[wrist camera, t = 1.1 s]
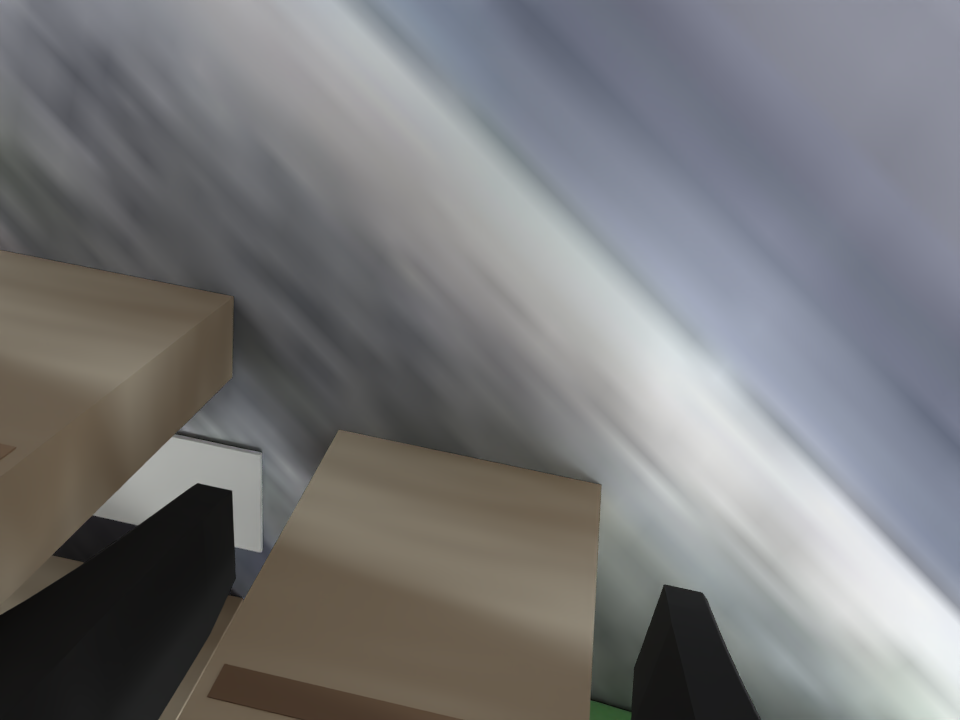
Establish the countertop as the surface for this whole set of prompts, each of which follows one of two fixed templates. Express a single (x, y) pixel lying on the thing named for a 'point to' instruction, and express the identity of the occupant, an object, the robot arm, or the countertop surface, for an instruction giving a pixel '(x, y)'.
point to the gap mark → (183, 469)
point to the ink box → (607, 712)
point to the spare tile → (416, 596)
